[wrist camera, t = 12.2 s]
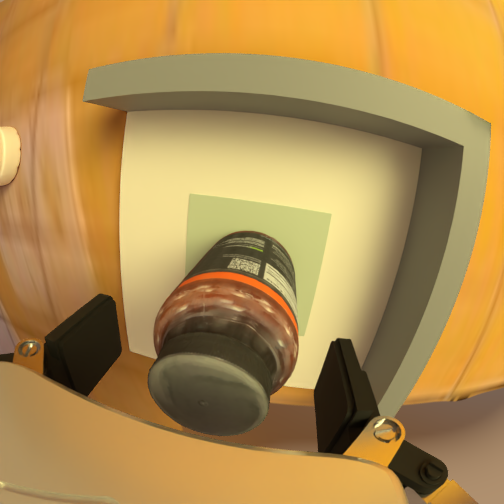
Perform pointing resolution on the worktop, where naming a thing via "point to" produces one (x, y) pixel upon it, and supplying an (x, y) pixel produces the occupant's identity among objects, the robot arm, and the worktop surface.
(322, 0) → the worktop surface
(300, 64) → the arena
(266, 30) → the worktop surface
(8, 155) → the water bottle
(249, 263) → the supplement bottle
